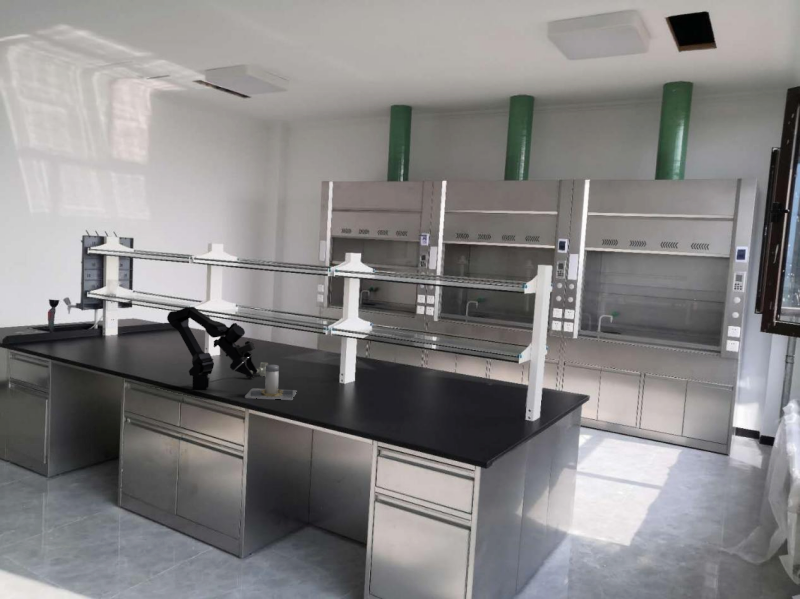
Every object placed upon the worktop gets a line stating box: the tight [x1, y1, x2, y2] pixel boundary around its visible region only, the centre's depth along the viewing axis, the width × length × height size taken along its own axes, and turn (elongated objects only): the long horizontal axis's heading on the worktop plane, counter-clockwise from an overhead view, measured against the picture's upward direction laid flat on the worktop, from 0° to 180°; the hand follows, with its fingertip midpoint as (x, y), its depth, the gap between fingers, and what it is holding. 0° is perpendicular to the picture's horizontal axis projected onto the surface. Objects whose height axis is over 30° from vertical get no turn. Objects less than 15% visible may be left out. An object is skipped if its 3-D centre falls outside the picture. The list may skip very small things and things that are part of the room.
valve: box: [245, 361, 269, 380], centre depth 309 cm, size 7×7×12 cm
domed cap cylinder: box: [264, 364, 280, 394], centre depth 274 cm, size 6×6×12 cm
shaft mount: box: [244, 387, 298, 401], centre depth 274 cm, size 20×14×2 cm
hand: (254, 374), depth 274 cm, fingers open, 9 cm apart
